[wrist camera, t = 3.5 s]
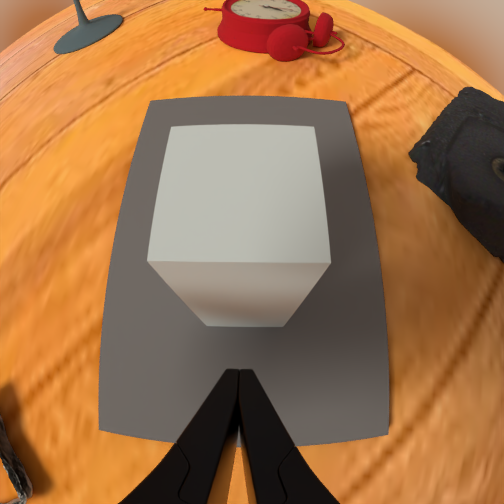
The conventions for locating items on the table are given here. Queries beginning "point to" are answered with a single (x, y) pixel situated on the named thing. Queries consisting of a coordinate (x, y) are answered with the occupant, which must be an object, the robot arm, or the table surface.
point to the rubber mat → (249, 338)
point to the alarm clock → (273, 27)
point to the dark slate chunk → (468, 164)
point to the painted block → (240, 221)
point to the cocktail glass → (86, 31)
